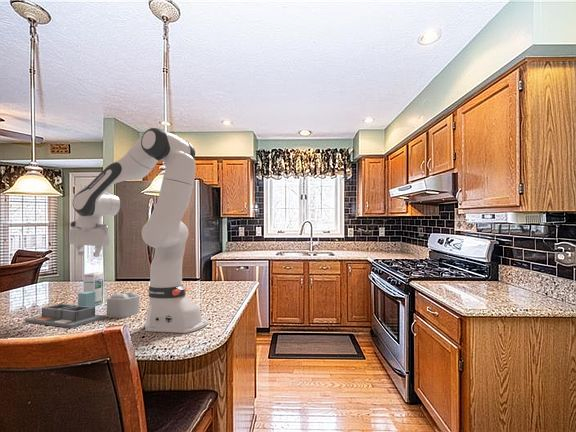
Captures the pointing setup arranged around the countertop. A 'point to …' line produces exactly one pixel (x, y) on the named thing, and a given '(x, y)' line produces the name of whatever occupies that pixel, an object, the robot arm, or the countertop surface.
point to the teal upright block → (86, 299)
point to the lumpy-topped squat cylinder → (123, 304)
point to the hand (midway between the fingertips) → (88, 256)
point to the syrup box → (94, 285)
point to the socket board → (66, 316)
